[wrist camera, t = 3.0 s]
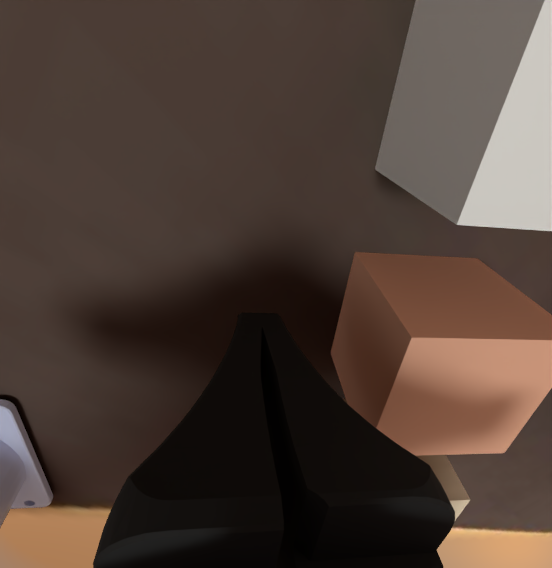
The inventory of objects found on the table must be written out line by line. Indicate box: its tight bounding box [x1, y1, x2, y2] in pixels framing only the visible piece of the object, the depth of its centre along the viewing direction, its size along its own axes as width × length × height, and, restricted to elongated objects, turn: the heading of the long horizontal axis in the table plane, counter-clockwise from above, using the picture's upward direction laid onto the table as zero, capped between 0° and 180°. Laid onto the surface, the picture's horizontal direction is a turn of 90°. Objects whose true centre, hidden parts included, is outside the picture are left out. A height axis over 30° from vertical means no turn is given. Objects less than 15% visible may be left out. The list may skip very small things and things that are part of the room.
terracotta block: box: [331, 252, 552, 456], centre depth 12 cm, size 5×5×5 cm
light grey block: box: [375, 0, 552, 231], centre depth 8 cm, size 5×5×5 cm
